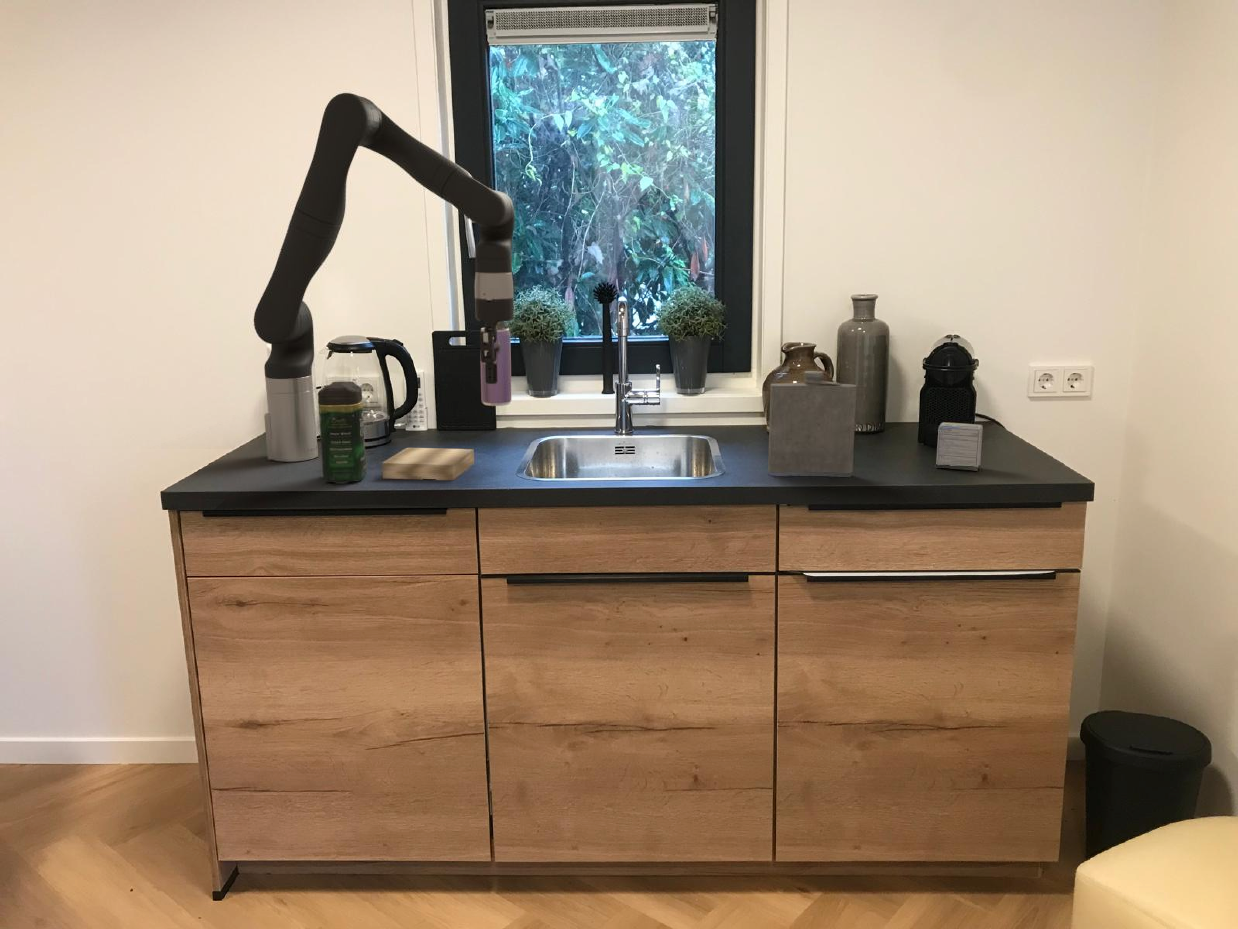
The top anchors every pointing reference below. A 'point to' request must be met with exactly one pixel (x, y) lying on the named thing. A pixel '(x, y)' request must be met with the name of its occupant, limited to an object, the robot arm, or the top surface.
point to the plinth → (428, 463)
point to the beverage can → (498, 373)
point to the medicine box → (959, 444)
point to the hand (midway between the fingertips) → (495, 380)
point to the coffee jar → (342, 432)
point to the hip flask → (812, 426)
